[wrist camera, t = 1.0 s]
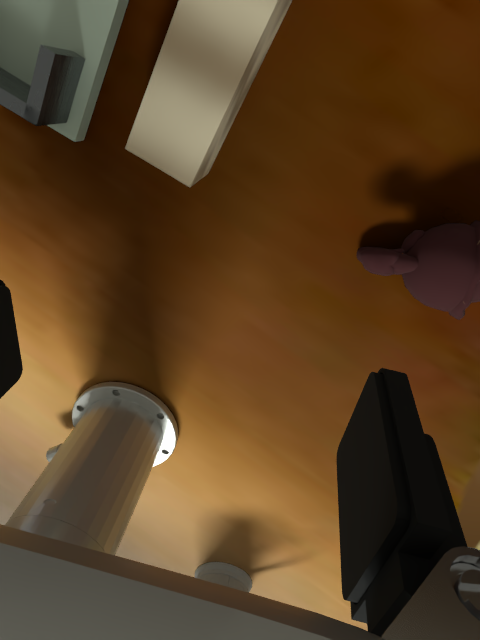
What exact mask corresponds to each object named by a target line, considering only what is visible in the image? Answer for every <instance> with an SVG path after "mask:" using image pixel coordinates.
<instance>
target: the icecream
mask: <svg viewBox="0 0 480 640" xmlns="http://www.w3.org/2000/svg"><path fill="white" fill-rule="evenodd" d="M357 258H358V260H359V261H360V262H361V263H362V264H363V266H364V268H365V269H366V270H368V271H369V272H370V273H374V274H378V275H383V276H389V275H392V274H402V276H403V280H404V283H405V287H406V288H407V289H408V290H409V292H410V293H411V294H412V295H413V297H414V298H416V299H417V300H419V301H420V302H422V303H423V304H424V305H426V306H429V307H432V308H435V309H438V310H442V311H448V312H449V314H450V315H452V316H453V317H455V318H456V319H458V320H460V319H461V318H462V317H463V316H464V315H465V309H466V308H467V307H468V306H469V305H470V303H472V302H479V301H480V221H477V220H475V221H474V222H473V223H472V224H470V225H467V224H465V223H446V224H443V225H440V226H436V227H433V228H431V229H429V230H427V231H426V232H424V231H422V230H414V231H413V232H412V233H411V234H410V235H408V236H407V237H406V238H405V240H404V242H403V244H402V247H401V249H400V248H398V249H386V248H381V247H361V248H359V249H358V251H357Z"/></svg>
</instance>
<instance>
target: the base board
mask: <svg viewBox="0 0 480 640" xmlns="http://www.w3.org/2000/svg"><path fill="white" fill-rule="evenodd" d="M128 2H129V0H0V67H1V68H2V69H4V70H6V71H7V72H9V73H11V74H12V75H14V76H16V77H17V78H19V79H20V80H22V81H24V82H25V83H27V84H29V85H30V86H31V82H32V78H33V74H34V70H35V66H36V61H37V57H38V53H39V49H40V45H46V46H51V47H56V48H61V49H66V50H71V51H74V52H75V53H77V54H79V55H80V56H82V57H83V58H85V62H84V66H83V69H82V73H81V76H80V79H79V83H78V86H77V90H76V93H75V96H74V100H73V103H72V107H71V110H70V113H69V117H68V120H67V123H60V124H50V125H47V126H49V127H51V128H52V129H54V130H56V131H57V132H59V133H61V134H62V135H64V136H66V137H67V138H69V139H71V140H72V141H74V142H78V141H83V140H84V139H85V136H86V132H87V129H88V126H89V123H90V120H91V117H92V114H93V111H94V108H95V104H96V101H97V98H98V95H99V92H100V89H101V86H102V83H103V80H104V76H105V73H106V70H107V67H108V64H109V61H110V58H111V55H112V52H113V48H114V45H115V42H116V39H117V36H118V33H119V30H120V27H121V24H122V20H123V17H124V14H125V11H126V8H127V5H128Z"/></svg>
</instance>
